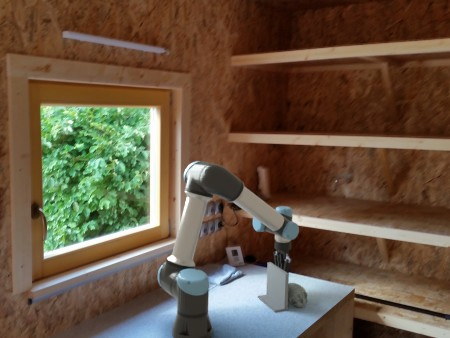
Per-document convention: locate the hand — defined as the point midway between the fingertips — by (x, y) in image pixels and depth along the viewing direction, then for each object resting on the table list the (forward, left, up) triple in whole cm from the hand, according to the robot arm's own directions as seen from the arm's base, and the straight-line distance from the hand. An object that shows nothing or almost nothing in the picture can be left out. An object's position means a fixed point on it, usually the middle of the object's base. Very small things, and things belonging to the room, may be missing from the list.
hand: (281, 289), depth 214 cm
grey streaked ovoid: (0, -12, -2) cm, 12 cm away
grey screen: (-10, -9, -2) cm, 13 cm away
